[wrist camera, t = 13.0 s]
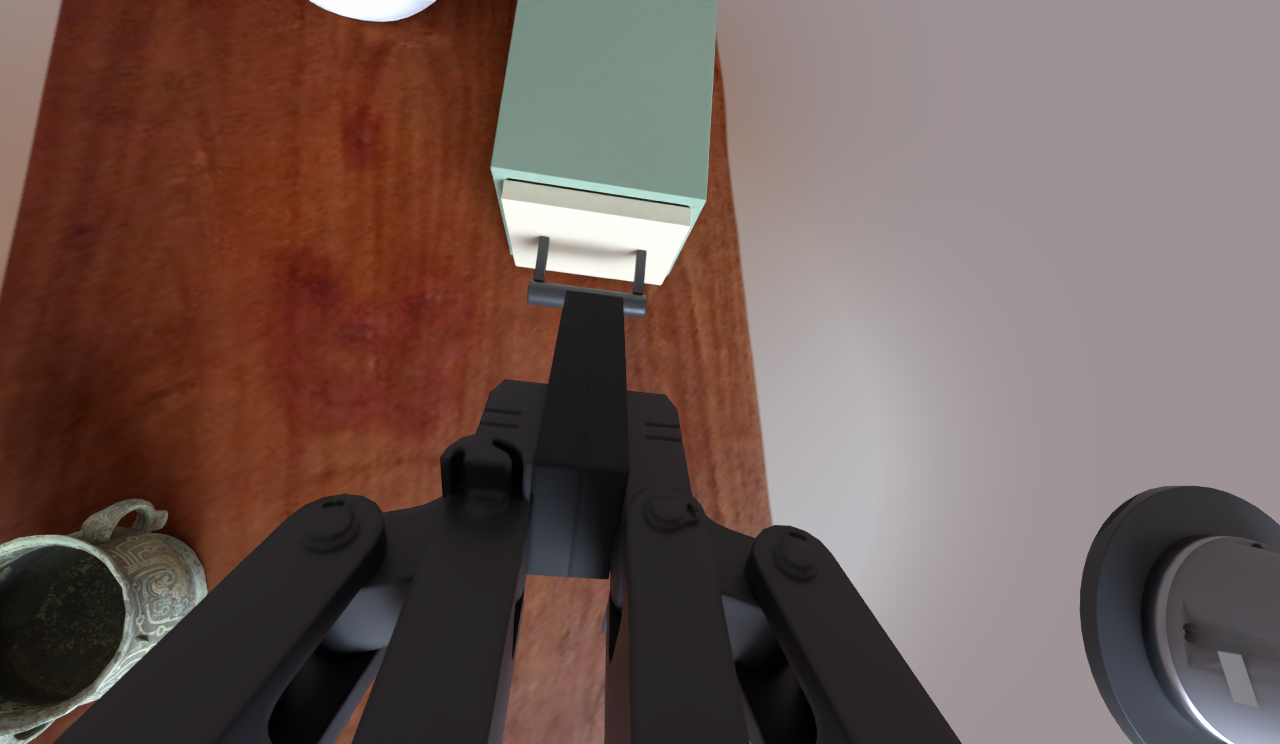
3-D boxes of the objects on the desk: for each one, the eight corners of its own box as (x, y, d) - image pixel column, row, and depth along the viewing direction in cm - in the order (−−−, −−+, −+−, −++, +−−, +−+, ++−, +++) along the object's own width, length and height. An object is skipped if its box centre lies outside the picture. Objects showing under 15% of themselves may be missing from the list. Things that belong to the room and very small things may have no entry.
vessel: (105, 477, 30) (-10, 476, 24) (257, 515, 31) (183, 523, 25) (-7, 698, 28) (-169, 759, 21) (164, 734, 28) (54, 803, 22)
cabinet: (668, 276, 38) (706, 200, 28) (510, 254, 37) (489, 167, 27) (680, 108, 42) (718, -15, 31) (535, 82, 40) (526, -55, 30)
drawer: (657, 342, 36) (685, 299, 28) (506, 324, 35) (488, 274, 26) (673, 124, 40) (703, 27, 32) (539, 100, 39) (532, -7, 30)
